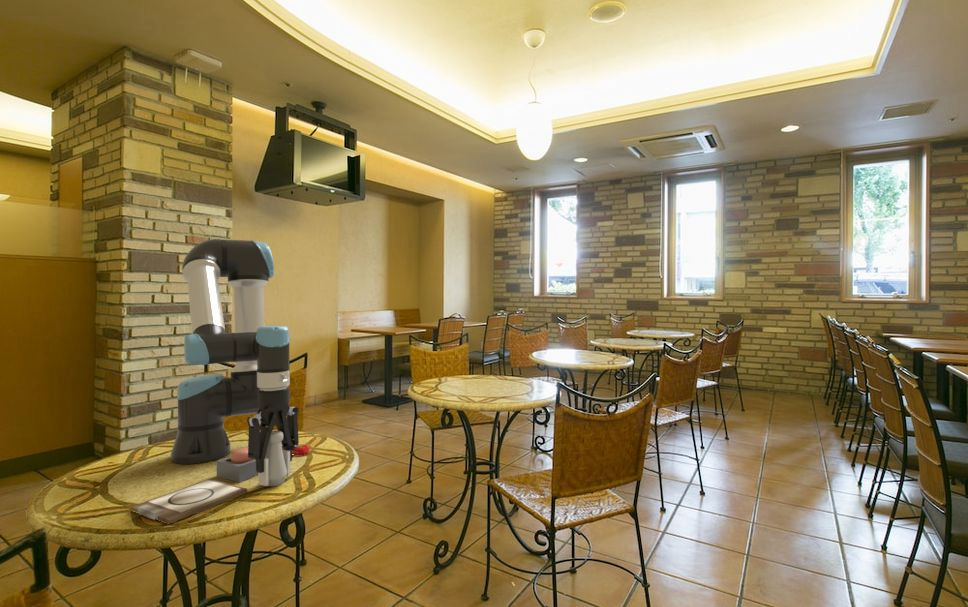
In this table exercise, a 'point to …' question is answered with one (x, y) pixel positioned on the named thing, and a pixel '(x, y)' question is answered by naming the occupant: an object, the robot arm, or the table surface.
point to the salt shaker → (276, 459)
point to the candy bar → (299, 449)
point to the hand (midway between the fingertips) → (274, 479)
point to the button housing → (236, 470)
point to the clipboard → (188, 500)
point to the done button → (240, 456)
